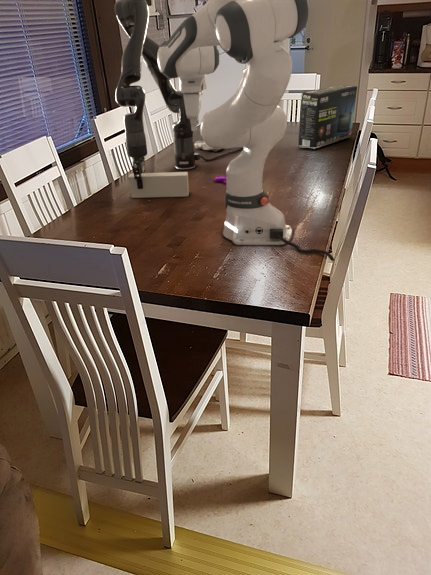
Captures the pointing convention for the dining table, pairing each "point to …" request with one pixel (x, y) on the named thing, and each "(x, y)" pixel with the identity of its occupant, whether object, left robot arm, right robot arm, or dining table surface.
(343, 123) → the router box
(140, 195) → the bar
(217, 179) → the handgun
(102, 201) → the dining table surface
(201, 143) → the fossil
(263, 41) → the right robot arm
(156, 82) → the left robot arm
